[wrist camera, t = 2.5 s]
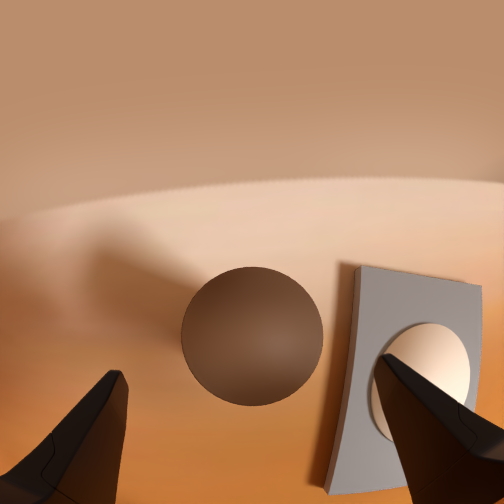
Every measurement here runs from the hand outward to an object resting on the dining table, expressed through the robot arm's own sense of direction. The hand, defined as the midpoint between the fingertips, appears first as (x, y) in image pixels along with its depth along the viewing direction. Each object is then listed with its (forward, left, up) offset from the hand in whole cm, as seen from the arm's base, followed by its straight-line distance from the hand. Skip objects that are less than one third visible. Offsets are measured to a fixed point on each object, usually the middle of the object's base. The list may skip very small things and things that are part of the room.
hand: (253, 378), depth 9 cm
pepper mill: (+1, 0, -9) cm, 9 cm away
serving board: (-1, -13, -9) cm, 16 cm away
